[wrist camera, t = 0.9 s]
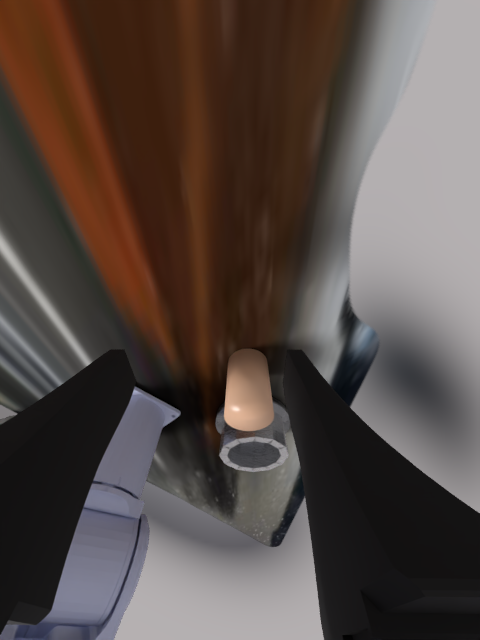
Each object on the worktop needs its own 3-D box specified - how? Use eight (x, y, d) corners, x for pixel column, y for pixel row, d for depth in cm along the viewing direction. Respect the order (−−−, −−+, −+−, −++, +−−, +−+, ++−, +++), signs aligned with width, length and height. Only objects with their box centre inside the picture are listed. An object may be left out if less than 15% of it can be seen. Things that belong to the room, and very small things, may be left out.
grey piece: (251, 444, 32) (252, 481, 28) (201, 417, 28) (195, 455, 24) (303, 417, 28) (313, 456, 24) (253, 382, 25) (255, 420, 21)
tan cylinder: (247, 382, 25) (248, 436, 20) (220, 363, 23) (213, 416, 18) (275, 363, 23) (284, 417, 18) (248, 341, 21) (249, 393, 16)
